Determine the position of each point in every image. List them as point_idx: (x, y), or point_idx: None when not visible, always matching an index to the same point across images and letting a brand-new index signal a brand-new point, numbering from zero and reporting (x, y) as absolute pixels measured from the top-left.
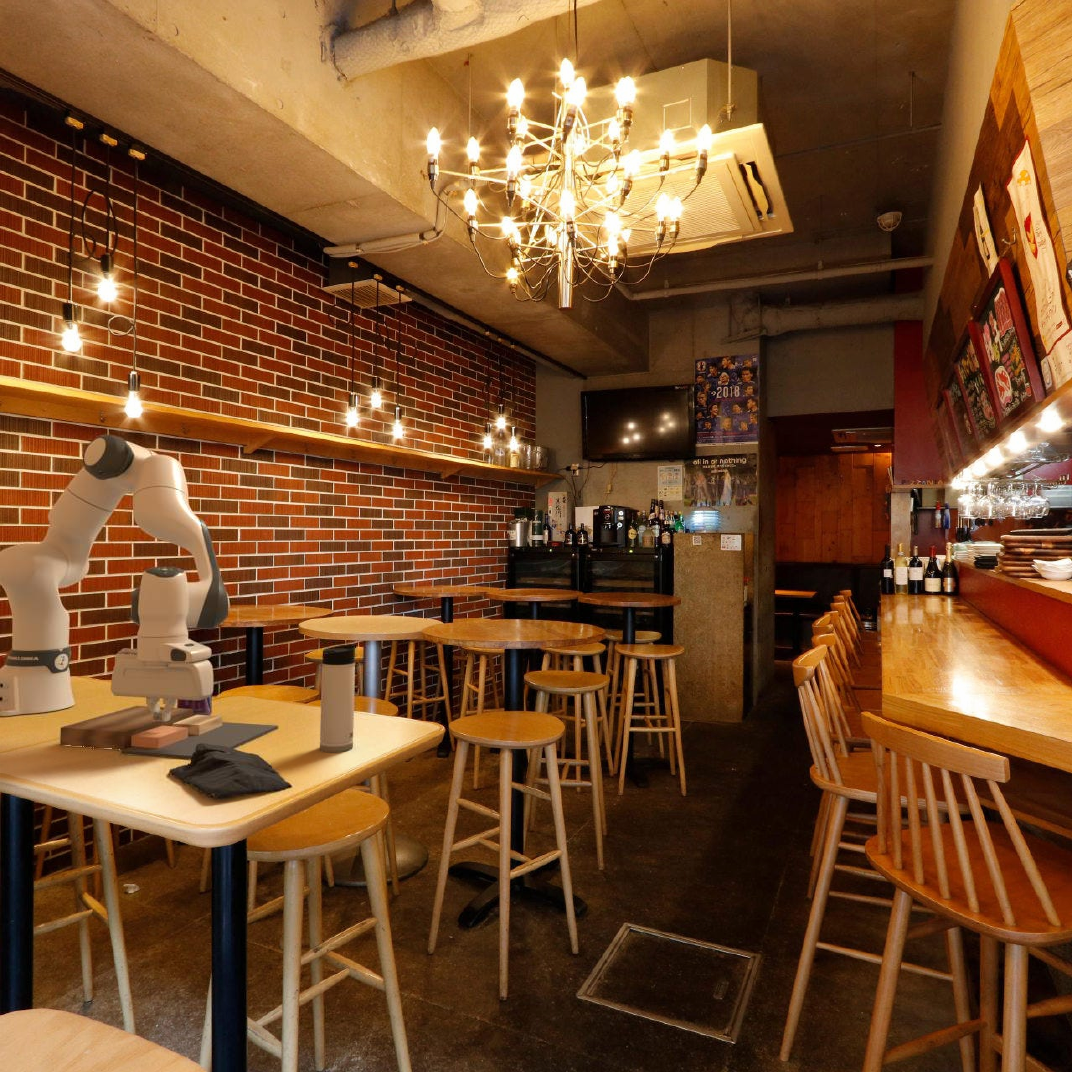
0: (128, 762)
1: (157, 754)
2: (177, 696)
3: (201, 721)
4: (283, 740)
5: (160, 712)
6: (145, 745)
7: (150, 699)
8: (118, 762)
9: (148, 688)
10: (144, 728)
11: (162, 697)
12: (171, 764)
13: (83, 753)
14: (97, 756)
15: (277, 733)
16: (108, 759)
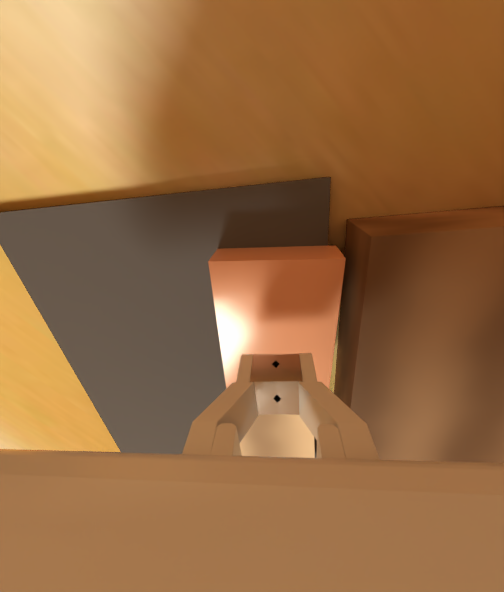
0: (203, 79)
1: (168, 195)
2: (66, 469)
3: (247, 441)
4: (39, 404)
5: (262, 383)
6: (270, 248)
7: (338, 451)
8: (242, 59)
9: (368, 569)
10: (354, 341)
11: (208, 460)
12: (39, 126)
13: (500, 125)
14: (402, 107)
15: (101, 438)
16: (320, 84)
